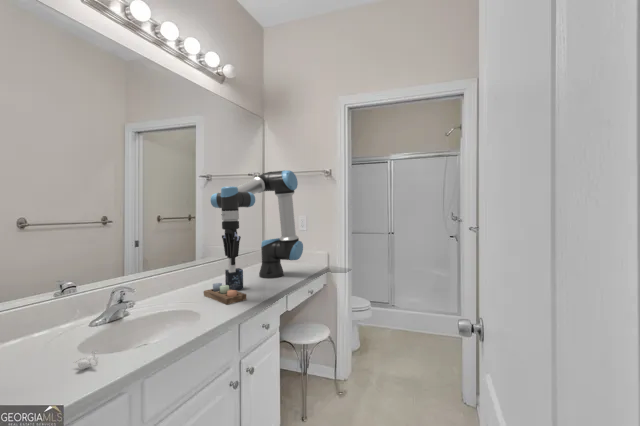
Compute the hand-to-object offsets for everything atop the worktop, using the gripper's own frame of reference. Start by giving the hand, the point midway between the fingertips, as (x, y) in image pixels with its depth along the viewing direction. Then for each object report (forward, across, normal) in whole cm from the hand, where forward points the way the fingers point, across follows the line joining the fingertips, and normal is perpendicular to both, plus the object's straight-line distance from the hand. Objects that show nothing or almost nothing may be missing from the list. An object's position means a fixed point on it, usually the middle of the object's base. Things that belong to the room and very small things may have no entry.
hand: (232, 271), depth 144 cm
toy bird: (+12, +28, -59) cm, 66 cm away
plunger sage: (+12, -7, 0) cm, 13 cm away
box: (+14, -17, +11) cm, 25 cm away
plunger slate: (+12, -14, 0) cm, 18 cm away
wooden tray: (+13, -7, 0) cm, 15 cm away
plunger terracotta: (+13, 0, 0) cm, 13 cm away
